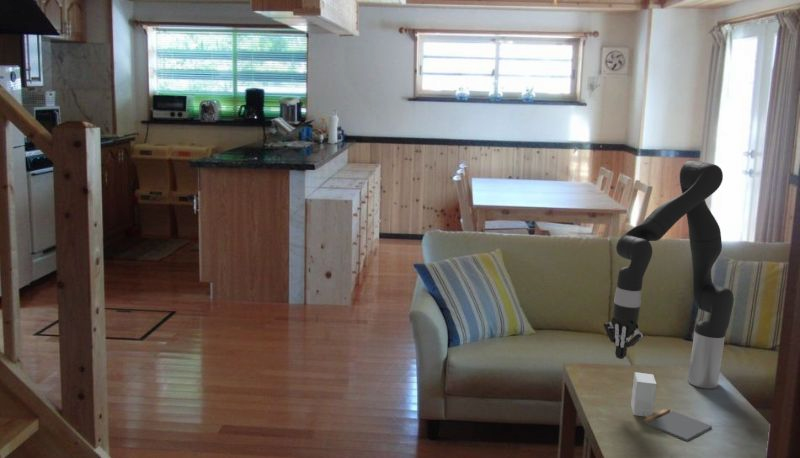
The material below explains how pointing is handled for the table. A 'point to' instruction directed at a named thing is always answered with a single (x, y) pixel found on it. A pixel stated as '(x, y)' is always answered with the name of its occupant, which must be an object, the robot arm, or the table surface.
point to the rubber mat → (679, 425)
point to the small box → (643, 394)
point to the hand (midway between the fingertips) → (620, 357)
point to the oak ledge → (657, 415)
